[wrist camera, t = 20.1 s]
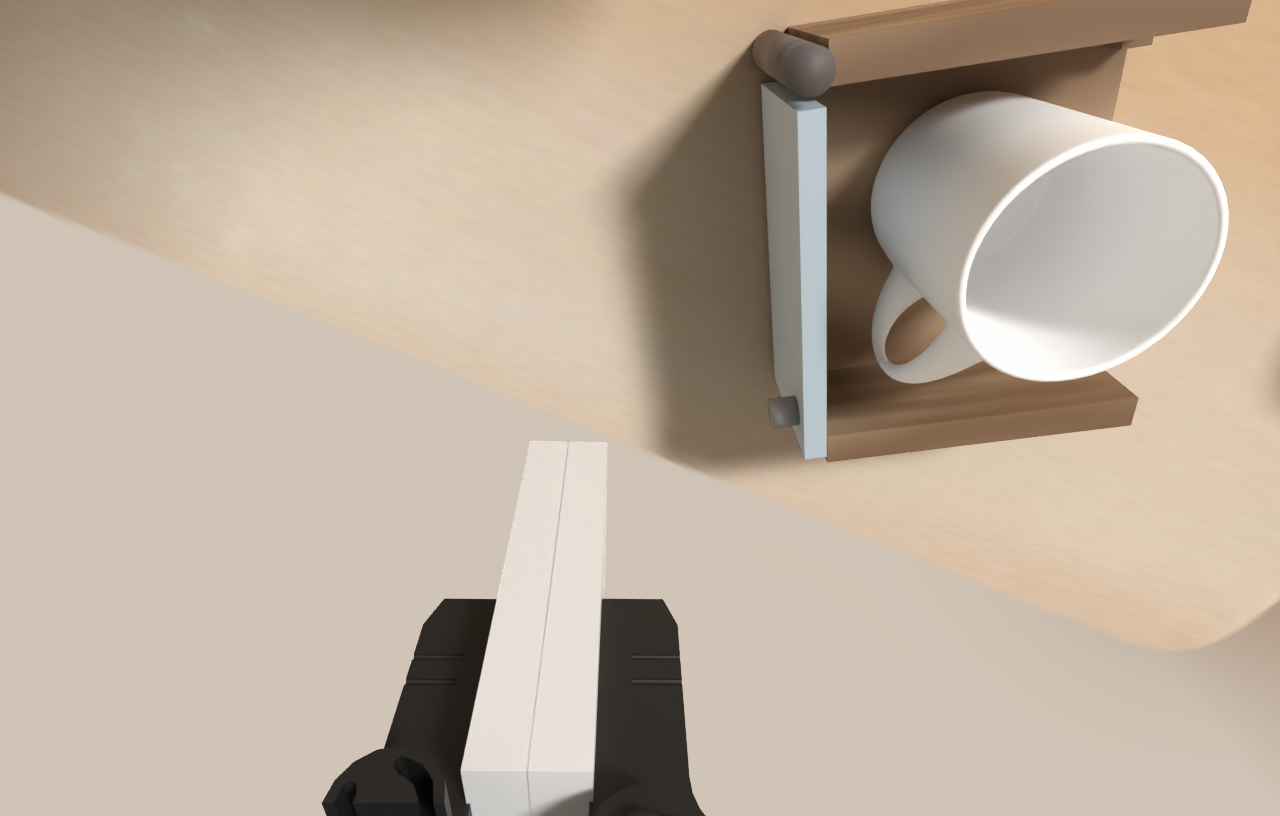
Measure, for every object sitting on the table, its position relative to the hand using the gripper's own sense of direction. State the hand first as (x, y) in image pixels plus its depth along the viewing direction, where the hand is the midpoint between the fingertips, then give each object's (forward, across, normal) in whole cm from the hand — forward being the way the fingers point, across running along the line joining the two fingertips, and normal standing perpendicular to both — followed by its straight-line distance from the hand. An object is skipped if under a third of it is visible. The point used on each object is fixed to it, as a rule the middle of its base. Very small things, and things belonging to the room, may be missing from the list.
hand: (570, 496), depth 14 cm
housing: (+22, +16, 0) cm, 28 cm away
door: (+22, +8, -2) cm, 24 cm away
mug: (+22, +16, 0) cm, 27 cm away
